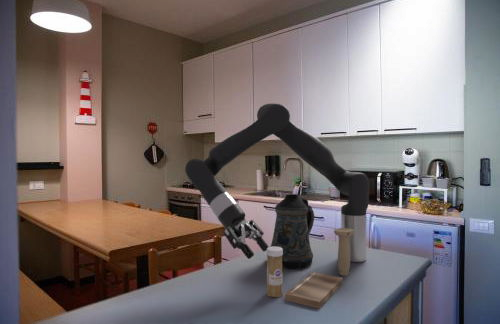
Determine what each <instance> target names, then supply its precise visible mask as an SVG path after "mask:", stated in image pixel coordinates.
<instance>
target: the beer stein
mask: <svg viewBox="0 0 500 324" xmlns="http://www.w3.org/2000/svg"><path fill="white" fill-rule="evenodd" d="M274 209H275V210H274V211H275V213H276V214H275V215H276V218H275V222H274V229H273V236H272V240H271V244H270V247H272V246H276V247H281V248H282V249H283V255H282V270H299V269H306V268H308V267H311V266H312V263H313V258H314V254H313V251H312V248H311V243H310V233H311V232H312V229H313V226H314V221H315V212H314V210H313V207H312V206H311V205H309V201H308V199H306V198H303V197H300V196H299V194H286V195H285V197H284V198H283V199H282V200H281V201H280V202H278V203H277V204H276V205H275V206H274Z"/></svg>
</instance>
